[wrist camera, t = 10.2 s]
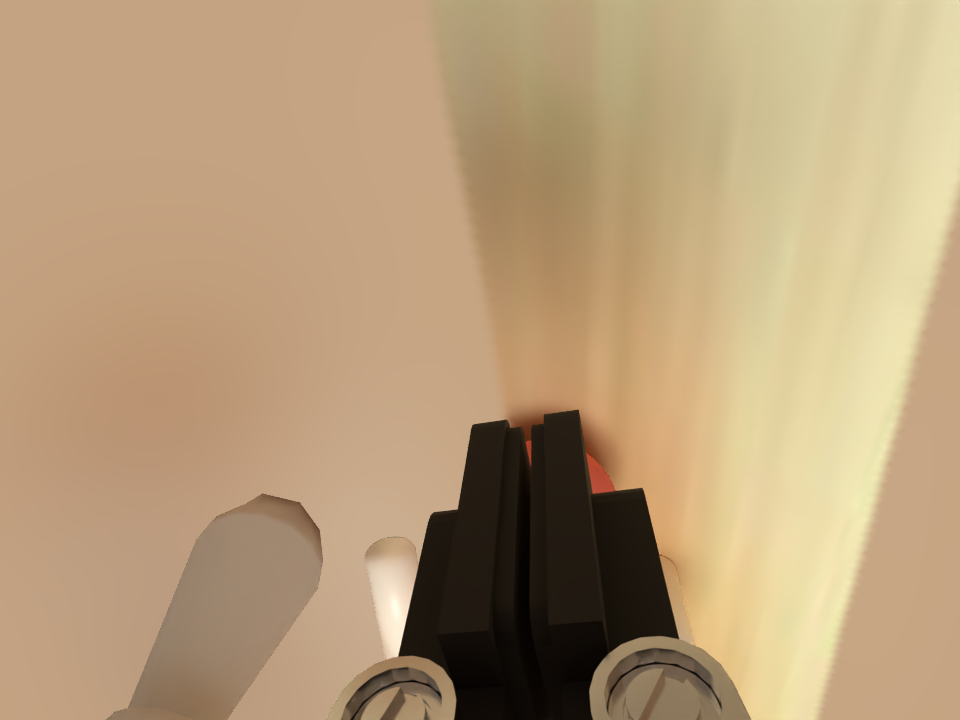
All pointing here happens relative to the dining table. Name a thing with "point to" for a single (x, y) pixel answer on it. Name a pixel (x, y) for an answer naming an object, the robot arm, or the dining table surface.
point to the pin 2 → (677, 601)
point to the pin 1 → (391, 587)
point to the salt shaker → (229, 611)
